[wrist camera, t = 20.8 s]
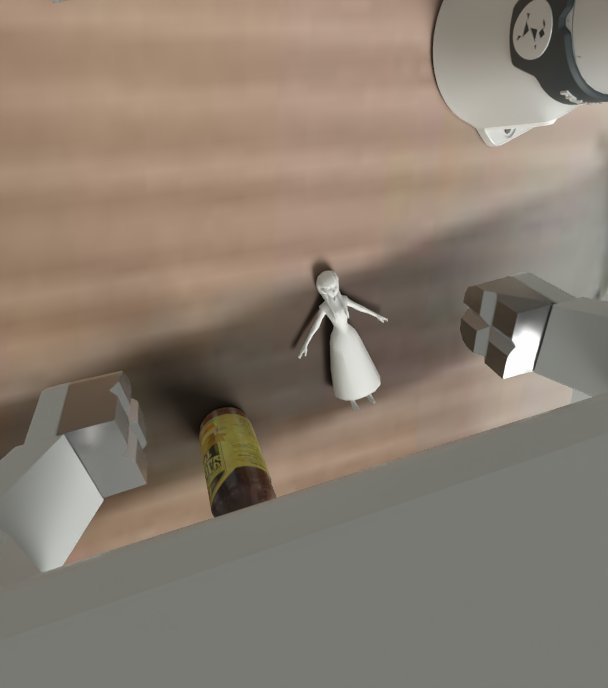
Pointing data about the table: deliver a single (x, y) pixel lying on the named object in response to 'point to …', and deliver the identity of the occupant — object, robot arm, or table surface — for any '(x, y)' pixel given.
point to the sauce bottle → (233, 462)
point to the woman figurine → (345, 344)
